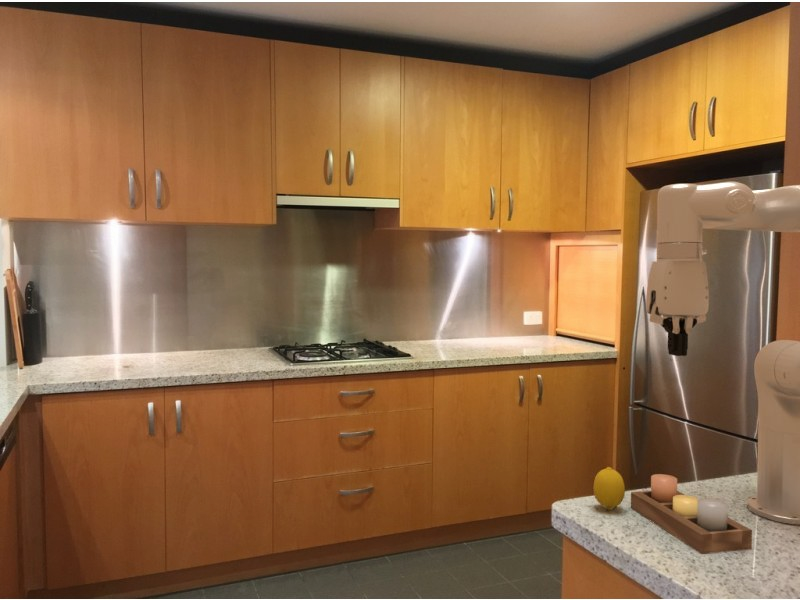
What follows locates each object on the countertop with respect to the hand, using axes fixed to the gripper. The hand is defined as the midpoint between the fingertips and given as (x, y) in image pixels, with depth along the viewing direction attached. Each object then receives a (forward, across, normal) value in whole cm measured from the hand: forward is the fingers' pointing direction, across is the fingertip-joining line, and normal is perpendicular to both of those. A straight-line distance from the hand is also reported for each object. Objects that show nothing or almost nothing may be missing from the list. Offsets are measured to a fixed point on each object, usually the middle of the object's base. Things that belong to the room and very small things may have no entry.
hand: (677, 354), depth 115 cm
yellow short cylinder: (+29, +2, +6) cm, 29 cm away
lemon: (+29, +11, -4) cm, 32 cm away
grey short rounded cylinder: (+27, +2, +12) cm, 30 cm away
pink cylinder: (+27, +2, 0) cm, 27 cm away
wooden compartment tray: (+29, +2, +6) cm, 30 cm away
